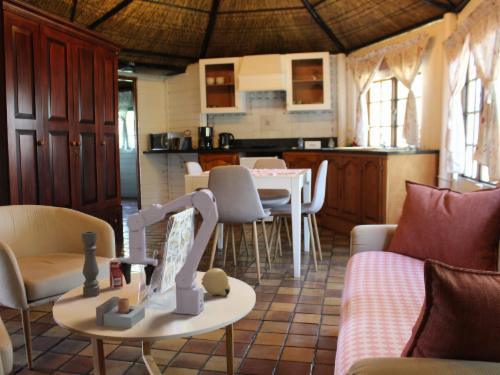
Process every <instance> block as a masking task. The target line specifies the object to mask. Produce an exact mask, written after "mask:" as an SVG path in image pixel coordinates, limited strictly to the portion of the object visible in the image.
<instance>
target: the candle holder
mask: <svg viewBox="0 0 500 375" xmlns="http://www.w3.org/2000/svg"><path fill="white" fill-rule="evenodd" d="M81 241H82V243H83V245H84V246H83V248H82V250H83V251H84V262H83V263H84V264H83V268H82V276H83V277H84V282H83V287H82V294H83V295H82V296H83V297H85V298H94V297H97V296H99V295H100V294H101V293H100V292H101V291H100V285H99V284H100V283H99V280H98V279H97V278H98V275H99V272H100V269H99V267H98V262H97V258H96V250H97V248H98V247H97V246H96V243H97V241H98V232H97V231H94V230H87V231H82V232H81Z"/></svg>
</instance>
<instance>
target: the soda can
mask: <svg viewBox="0 0 500 375" xmlns="http://www.w3.org/2000/svg"><path fill="white" fill-rule="evenodd" d="M118 258H119V257H113V258H110V259H109V260H110V261H109V265H108V266H109V288H110V289H112V290H120V289H122V288H123V287H124V275H123V273H122V271H121V270H120V268H119V266H120V265H121V264H118Z"/></svg>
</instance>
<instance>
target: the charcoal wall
mask: <svg viewBox="0 0 500 375" xmlns="http://www.w3.org/2000/svg"><path fill="white" fill-rule="evenodd" d="M119 299H120V297H119V296H112V297H111V298H109V299H107V301H104V302H103V303H101V304H100V305H98V306H96V307H95V320H96V326H98V327H102V326H103V327H104V322H103V315H104V314H106V313H107V312H109V311H110V310H112V309H113V308H115V307H116V306H118V300H119Z"/></svg>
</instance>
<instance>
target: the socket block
mask: <svg viewBox="0 0 500 375" xmlns="http://www.w3.org/2000/svg"><path fill="white" fill-rule="evenodd" d="M145 309H146V308H145V306H132V305H131V306H130V305H129V314H119V313H118V306H116V307H115V308H113V309H112V310H110V311H109V312H107V313H106V314H104V315H103V322H104V325H103V327H104V326H107V327H114V328H115V327H116V328H117V327H118V328H125V329H126V328H128V329H132V328H133V327H134V326H137V324H138V323H140V322H141V321H142V320H144V318H145V317H146V310H145Z"/></svg>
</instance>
